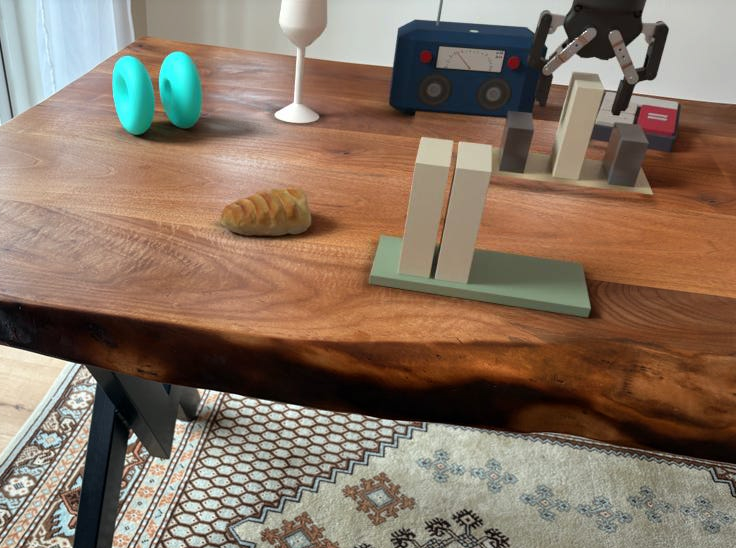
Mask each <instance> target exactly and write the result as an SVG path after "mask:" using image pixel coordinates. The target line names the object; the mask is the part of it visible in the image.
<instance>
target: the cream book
mask: <svg viewBox="0 0 736 548" xmlns="http://www.w3.org/2000/svg"><path fill="white" fill-rule="evenodd" d="M603 93H605V88H604V85H603V82H602V80H601V78H600V76H599V73H592V72H583V71H582V72H581V71H572V72H571V76H570V80H569V84H568V86H567V91H566V96H565V99H564V102H563V106H562V109H561V114H560V117H559V122H558V125H557V128H556V132H555V136H554V140H553V144H552V148H551V152H550V154H549V155H550V162H551V168H552V174H553V177H554V178H563V179H571V180H578V179H579V175H580V172H581V169H582V165H583V162H584V159H586V154H587V151H588V147H589V144H590V141H591V139H590V138H591V134H592V131H593V127H594V124H595V120H596V117H597V114H598V110H599V107H600V103H601V100H602V96H603Z"/></svg>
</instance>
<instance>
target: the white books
mask: <svg viewBox="0 0 736 548" xmlns="http://www.w3.org/2000/svg"><path fill="white" fill-rule="evenodd" d="M454 142H455V141H454V140H452V139H445V138H444V139H443V138H434V137H426V136H421V137H420V141H419V145H418V149H417V154H416V158H415V162H414V169H413V173H412V174H413V175H412V181H411V189H410V193H409V200H408V206H407V213H406V219H405V224H404V230H403V237H397V236H390V235H385V234H381V235H380V237H379V241H378V244H377V245H378V246H377V248H376V252H375V256H374V258H373V263H372V267H371V269H370V273H369V279H368V284H369V285H372V286H373V285H374V286H381V287H388V288H392V289H393V288H394V289H399V290H407V291H413V292H419V293H426V294H432V295H439V296H444V297H445V296H446V297H451V298H458V299H464V300H465V299H466V300H470V301H471V300H472V301H478V302H484V303H490V304H496V305H497V304H498V305H502V306H503V305H504V306H511V307H517V308H523V309H530V310H536V311H542V312H549V313H555V314H562V315H568V316H576V317H581V318H582V317H583V318H589V315H590V313H591V310H592V308H591V302H590V297H589V296H590V295H589V291H588V285H587V282H586V277H585V276H586V275H585V271H584V266H583V263H581V262H574V261H567V260H559V259H552V258H545V257H539V256H531V255H525V254H518V253H511V252H505V251H504V252H503V251H498V250H497V251H496V250H490V249H483V248H476V245H477V241H478V237H479V232H480V227H481V222H482V219H483V215H484V214H483V213H484V210H485V205H486V200H487V196H488V192H489V187H490V182H491V179H492V175H491V174H492V148H493V144H485V143H477V142H470V141H469V142H468V141H462V140H461V141H458V146H457V151H456V156H455V161H454V167H453V173H452V176H451V177H452V178H451V183H450V188H449V194H448V199H447V203H446V209H445V214H444V219H443V224H442V230H441V235H440V240H439V242H437V240H438V234H439V230H440V223H441V218H442V214H443V209H444V208H443V207H444V202H445V197H446V192H447V188H448V187H447V186H448V182H449V177H450V171H451V165H452V157H453V149H454Z"/></svg>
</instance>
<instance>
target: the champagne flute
mask: <svg viewBox="0 0 736 548" xmlns="http://www.w3.org/2000/svg"><path fill="white" fill-rule="evenodd" d="M279 10H280V11H279V16H278V17H279V18H278V23H279V26H280V28H281V31H282V32H283V34H284V36H285V37H286V38H287V39H288V40H289V41H290V43H291V44H292V45H293V46H295V47H296V60H295V61H296V63H295V77H294V78H295V79H294V80H295V81H294V94H293V102H292V103H290V104H288V105H286V106H285V107H283V108H281V109H280V110H277V111H276V112H275V113H274V117H275V118H276V119H277V120H280V121H283V122H286V123H293V124H307V123H313V122H316V121H318V120H319V119H320V115H319V114H318V113H317V112H316V111H314V110H313V109H311V108H310V107H308V106H307V105H305V104H304V103H303V91H304V76H305V74H304V73H305V62H306V48H308V47H309V46H311V45H312V44H313V43H314V42H315V41H317V39H319V38H320V37H321V36H322V34H323V33H324V32H325V30H326V28H327V26H328V0H281V4H280V9H279Z"/></svg>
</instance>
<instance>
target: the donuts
mask: <svg viewBox="0 0 736 548" xmlns="http://www.w3.org/2000/svg"><path fill="white" fill-rule="evenodd" d="M158 87H159V88H158V89H159V96H160V101H161V105H162V108H163V110H164V113H165V115H166V116H167V118H168V120H169V121H170V122H171V123H172V124H173V125H174V126H175V127H178V128H180V129H185V130H186V129H190V128H192V127H194V126H195V125H196V123H198V121H199V120H200V119H199V118H200V117H201V113H202V107H203V90H202V89H203V88H202V82H201V78H200V74H199V71H198V69H197V66H196V64H195V63H194V60H193V59H192V58H191V57H190V56H189V55H188V54H187V53H185V52H183V51H174V52H171V53H169V54H168V55H167V56H166V57H165V58H164V60H163V62H162V64H161V66H160V71H159V77H158ZM154 91H155V90H154V85H153V83H152V79H151V75H150V74H149V71H148V70H147V68H146V67H145V65H144V64H143V63H142V61H140V59H138V58H136V57H134V56H131V55H125V56H122V57H120V58H119V59H118V60H117V61H116V62H115V65H114V67H113V71H112V94H113V101H114V105H115V111H116V114H117V117H118V120H119V121H120V123H121V125H122V127H123V128H124V130H126V131H127V132H128V133H129V134H132V135H136V136H138V135H139V136H140V135H142V134H144V133H146V132H147V131H148V129H149V128H150V127H151V125H152V124H153V120H154V116H155V111H156V110H155V109H156V100H155V92H154Z"/></svg>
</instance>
